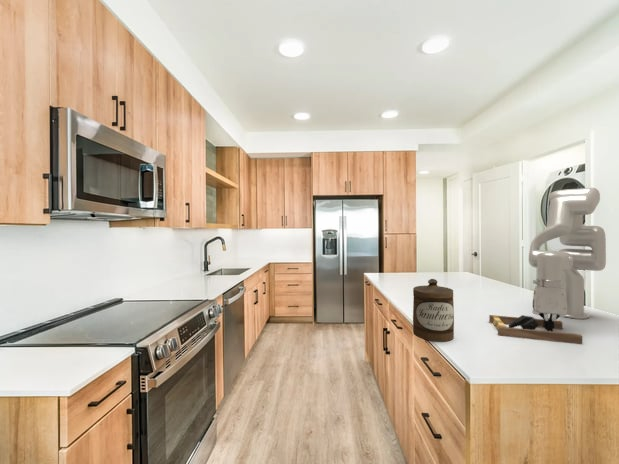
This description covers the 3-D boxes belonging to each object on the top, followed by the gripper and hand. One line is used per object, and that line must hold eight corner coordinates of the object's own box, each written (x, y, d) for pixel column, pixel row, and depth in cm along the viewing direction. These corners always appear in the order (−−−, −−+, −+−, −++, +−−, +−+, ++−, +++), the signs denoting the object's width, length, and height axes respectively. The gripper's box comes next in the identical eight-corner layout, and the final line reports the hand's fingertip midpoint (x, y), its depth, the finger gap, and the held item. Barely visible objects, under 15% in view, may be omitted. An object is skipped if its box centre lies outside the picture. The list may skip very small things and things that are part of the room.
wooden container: (417, 341, 114) (417, 282, 113) (409, 328, 128) (409, 275, 128) (459, 342, 112) (459, 282, 111) (447, 329, 126) (447, 276, 126)
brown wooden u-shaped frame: (489, 321, 136) (489, 314, 136) (560, 328, 127) (560, 320, 127) (498, 335, 119) (498, 327, 119) (582, 344, 110) (582, 335, 110)
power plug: (499, 326, 127) (525, 310, 125) (511, 342, 126) (537, 326, 125) (506, 331, 121) (533, 314, 120) (518, 347, 121) (545, 330, 119)
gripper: (529, 284, 120) (529, 331, 120) (577, 286, 114) (576, 335, 115) (523, 281, 127) (523, 325, 127) (568, 283, 122) (567, 329, 122)
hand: (548, 330), depth 121 cm, fingers closed
